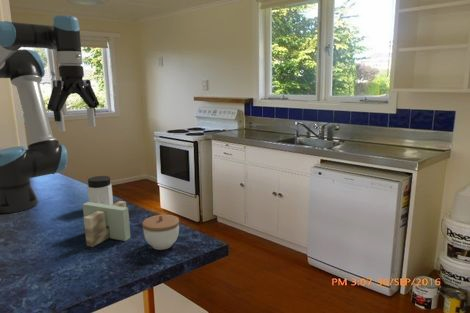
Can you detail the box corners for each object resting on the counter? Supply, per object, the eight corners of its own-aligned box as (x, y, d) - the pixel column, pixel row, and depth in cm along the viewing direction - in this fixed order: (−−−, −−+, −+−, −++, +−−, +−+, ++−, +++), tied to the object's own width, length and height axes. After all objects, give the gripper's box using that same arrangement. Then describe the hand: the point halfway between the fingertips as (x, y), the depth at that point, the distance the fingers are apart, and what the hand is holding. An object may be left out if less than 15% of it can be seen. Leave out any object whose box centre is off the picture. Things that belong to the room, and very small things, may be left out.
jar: (92, 213, 136) (89, 182, 134) (87, 207, 143) (84, 178, 141) (116, 208, 141) (113, 178, 139) (110, 203, 148) (108, 174, 145)
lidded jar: (163, 256, 102) (161, 225, 100) (136, 248, 108) (134, 218, 106) (187, 242, 111) (186, 213, 109) (161, 234, 117) (159, 207, 115)
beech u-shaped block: (93, 246, 109) (90, 218, 107) (86, 245, 110) (83, 217, 108) (127, 226, 123) (125, 201, 121) (121, 225, 124) (119, 200, 122)
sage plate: (85, 233, 119) (82, 204, 117) (91, 230, 121) (88, 201, 119) (125, 240, 113) (122, 210, 111) (130, 237, 115) (128, 207, 113)
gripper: (46, 63, 108) (55, 134, 113) (106, 65, 131) (111, 124, 135) (29, 64, 111) (38, 133, 116) (90, 66, 134) (95, 123, 138)
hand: (77, 128), depth 126 cm, fingers open, 13 cm apart
